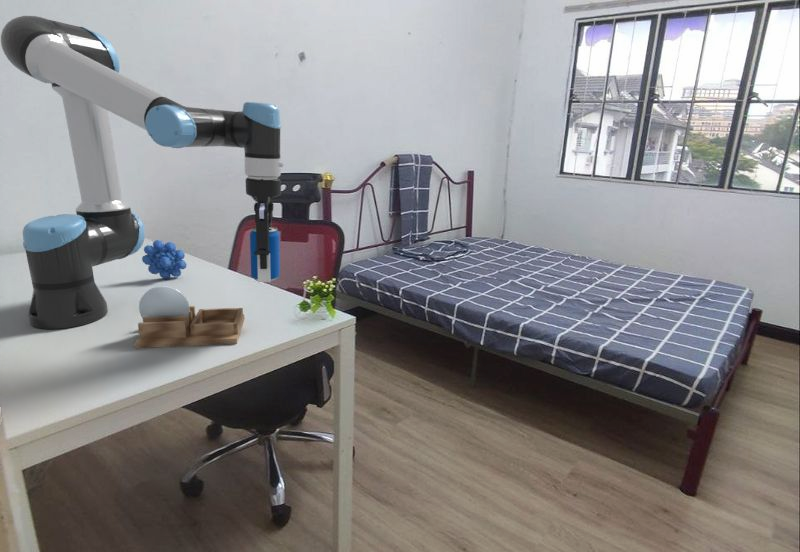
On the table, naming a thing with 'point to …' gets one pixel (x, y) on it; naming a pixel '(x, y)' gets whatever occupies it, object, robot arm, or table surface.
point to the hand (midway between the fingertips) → (265, 276)
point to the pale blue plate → (163, 303)
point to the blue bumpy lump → (164, 259)
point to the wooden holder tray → (192, 328)
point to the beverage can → (273, 253)
